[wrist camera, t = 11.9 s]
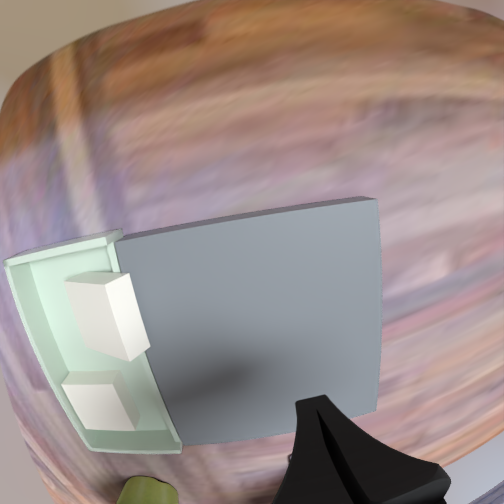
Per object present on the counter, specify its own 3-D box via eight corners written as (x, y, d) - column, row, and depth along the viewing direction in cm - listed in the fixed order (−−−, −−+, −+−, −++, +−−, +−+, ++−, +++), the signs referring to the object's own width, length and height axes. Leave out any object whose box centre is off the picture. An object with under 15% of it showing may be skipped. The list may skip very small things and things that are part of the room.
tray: (184, 429, 24) (181, 453, 21) (98, 430, 24) (89, 450, 21) (121, 228, 20) (105, 236, 17) (24, 250, 19) (2, 260, 16)
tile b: (150, 346, 19) (129, 362, 17) (105, 334, 21) (85, 346, 19) (129, 273, 17) (104, 284, 16) (85, 271, 20) (63, 281, 18)
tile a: (85, 428, 21) (92, 415, 23) (135, 430, 21) (140, 415, 23) (61, 384, 20) (70, 371, 22) (112, 384, 20) (119, 369, 22)
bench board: (365, 393, 24) (376, 410, 22) (186, 425, 24) (183, 445, 21) (361, 196, 20) (377, 199, 18) (127, 234, 20) (114, 242, 17)
